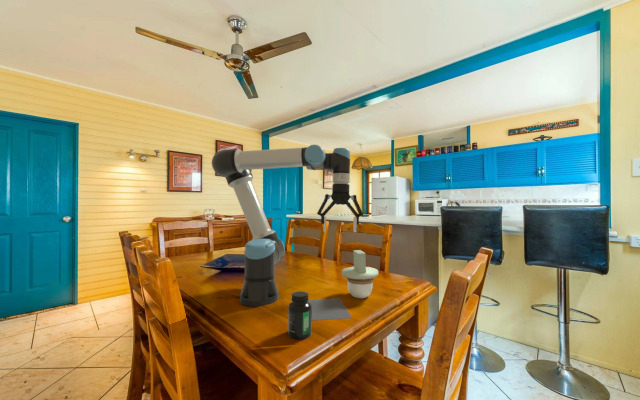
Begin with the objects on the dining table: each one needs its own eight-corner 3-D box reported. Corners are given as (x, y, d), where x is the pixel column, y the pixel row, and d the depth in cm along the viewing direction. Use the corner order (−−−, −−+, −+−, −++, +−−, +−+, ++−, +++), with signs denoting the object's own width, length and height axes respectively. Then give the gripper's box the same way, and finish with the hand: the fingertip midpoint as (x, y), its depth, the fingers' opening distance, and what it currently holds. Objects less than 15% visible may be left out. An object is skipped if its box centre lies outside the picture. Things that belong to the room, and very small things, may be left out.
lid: (347, 280, 99) (346, 256, 99) (338, 270, 114) (337, 249, 114) (384, 277, 101) (383, 254, 101) (370, 267, 116) (370, 247, 116)
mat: (298, 322, 83) (298, 321, 83) (295, 301, 101) (295, 300, 101) (351, 319, 86) (352, 317, 86) (339, 299, 104) (339, 298, 104)
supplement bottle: (312, 340, 72) (312, 297, 72) (287, 341, 72) (287, 298, 72) (310, 329, 79) (311, 289, 79) (288, 329, 79) (288, 290, 79)
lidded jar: (373, 302, 101) (373, 278, 101) (345, 300, 103) (345, 276, 103) (373, 293, 111) (373, 271, 111) (348, 291, 114) (348, 269, 114)
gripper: (313, 181, 109) (312, 232, 108) (370, 184, 112) (369, 233, 111) (312, 183, 116) (310, 230, 116) (365, 185, 119) (364, 231, 119)
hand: (339, 231), depth 114 cm, fingers open, 13 cm apart
